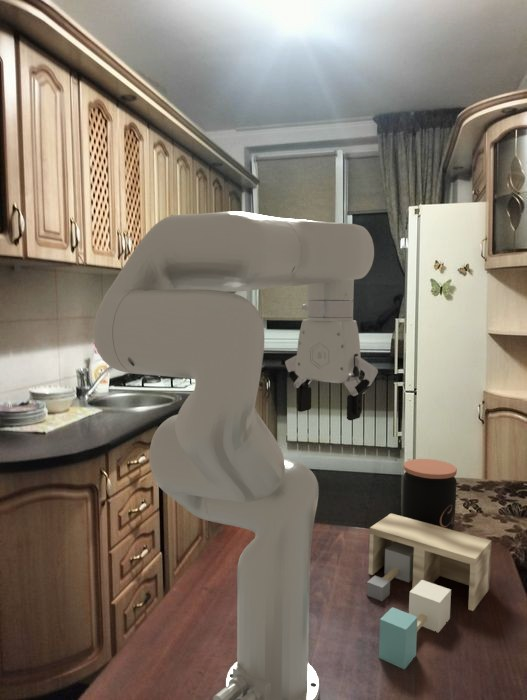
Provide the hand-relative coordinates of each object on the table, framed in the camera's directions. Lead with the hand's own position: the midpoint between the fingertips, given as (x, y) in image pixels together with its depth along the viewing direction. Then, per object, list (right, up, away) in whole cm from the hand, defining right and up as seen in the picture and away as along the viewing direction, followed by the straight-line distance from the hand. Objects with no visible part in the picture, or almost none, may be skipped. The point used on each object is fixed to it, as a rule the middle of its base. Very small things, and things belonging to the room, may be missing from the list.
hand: (328, 414), depth 91 cm
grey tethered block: (+13, -32, +11) cm, 37 cm away
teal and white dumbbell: (+13, -34, -6) cm, 37 cm away
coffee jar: (+24, -31, +24) cm, 46 cm away
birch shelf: (+20, -32, +11) cm, 39 cm away
